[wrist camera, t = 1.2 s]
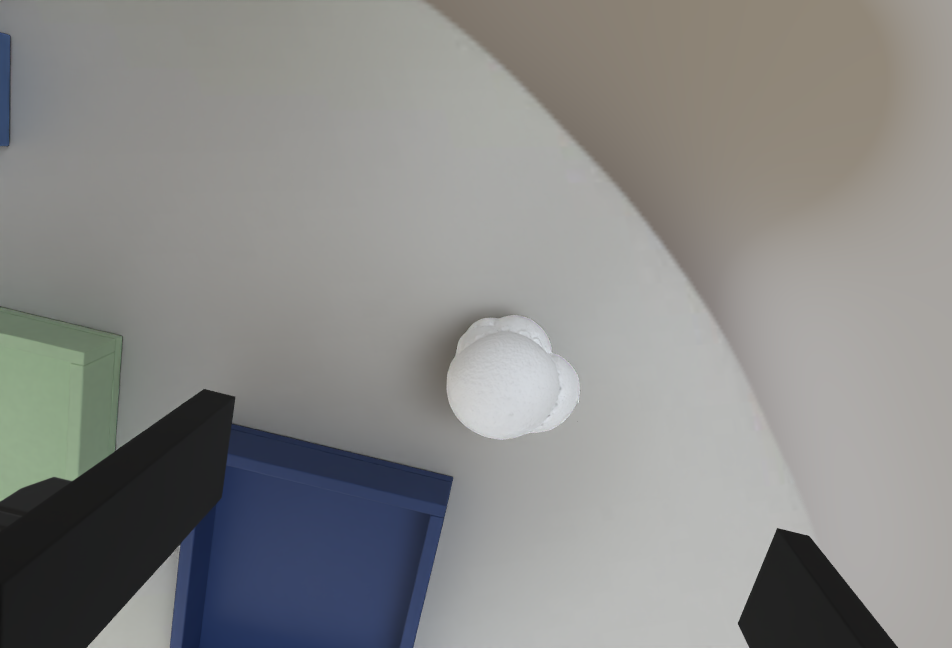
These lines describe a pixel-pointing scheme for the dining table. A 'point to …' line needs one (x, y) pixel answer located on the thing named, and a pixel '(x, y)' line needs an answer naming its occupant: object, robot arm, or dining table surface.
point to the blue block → (4, 88)
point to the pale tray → (54, 399)
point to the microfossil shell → (510, 379)
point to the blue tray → (309, 550)
